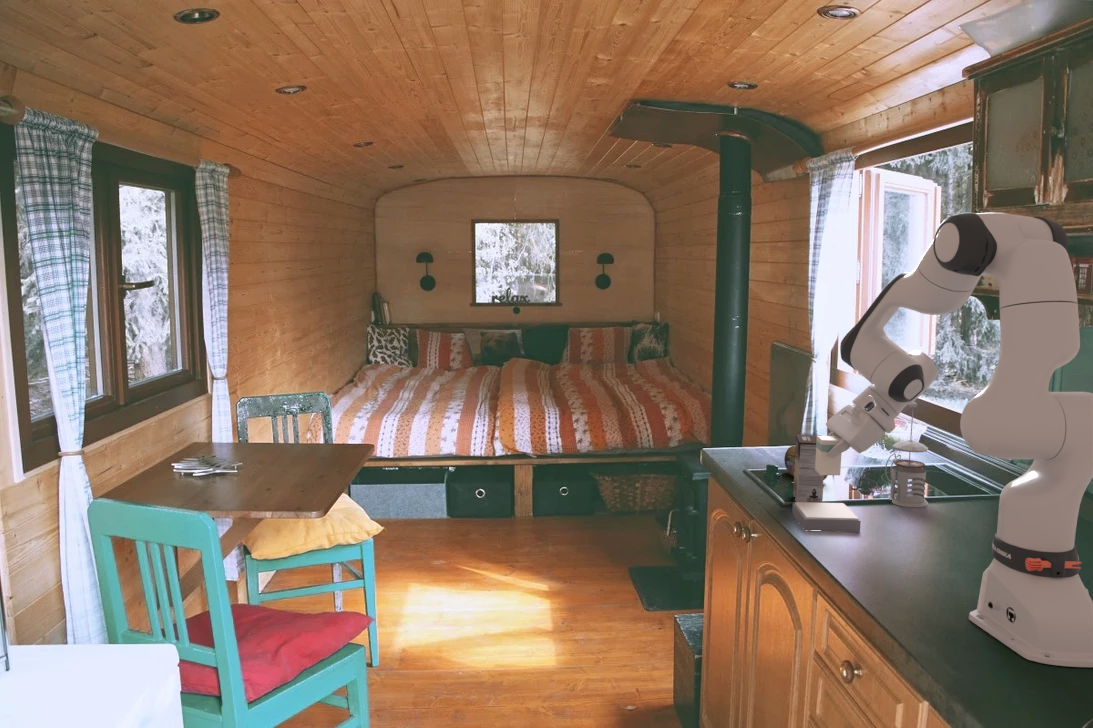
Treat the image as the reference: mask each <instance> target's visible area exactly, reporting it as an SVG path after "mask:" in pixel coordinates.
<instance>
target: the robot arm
mask: <svg viewBox="0 0 1093 728" xmlns="http://www.w3.org/2000/svg"><path fill="white" fill-rule="evenodd" d="M1068 248H1069V242H1068V235H1067V232H1066V230H1065V228H1064V227H1063V226H1062V225H1061V224H1060V223H1059V222H1058V221H1055V220H1053V219H1049V218H1046V217H1042V216H1032V217H1031V216H1028V215H1027V216H1026V215H1021V214H1011V213H1007V212H981V213H976V212H975V213H974V212H970V211H969V212H961V213H956V214H953V215H950V216H948V217H946V218H945V219H944V220H943V221H942V222H941V223H940V224H939V227H937V229H936V231H935V234H934V237H933V240H932V241H931V242H930V244H929V246H928V247H927V249H926V250H925V252H924V253H923V255H922V256H921V258H920V260H919V262H918V264H917V266H916V267H915V268H914V269H913V270H912V271H911V272H910V271H905V272H901V273H900V274H898V275H896V276H895V277H894V278H892V279H891V280H890V281H889V282H888V284H886V286H885V287H884V288H883V289H882V290H881V292H879V294H878V295H877V297H876V298H875V299H874V301H873V302H872V304H870V306H869V307H868V308H867V309H866V311H865V313H864V314H863V315H862V317H861V318H860V319H859V320H858V321H857V323H856V324H855V325H854V326H853V327H852V328H851V329H850V330H849V331H848V332H847V333H846V335H845V336H844V337H843V338H842V340H841V342H840V345H839V348H840V349H839V350H840V358H841V360H842V362H844V363H845V364H847V366H850V367H851V368H852V369H854V370H855V371H857V372H858V373H859V374H860V375H861V376H862V377H863V378H865V380H867V381H868V382H869V383H871V384H870V385H869V386H867V387H866V388H865V389H864V390H863V391H862V392H861V393H860V394H858V395H857V396H856V397H855V398H854V399H853V400H852V404H848V405H845V406H844V407H842V408H841V409H839V411H837V412H836V413H834V415H832V416H831V417H830V418H829V419H828V420H827V421H826V423H825V426H826V427H827V428H828V429H829V430H830V432H828V434H827V435H826V436H837V437H838V438H840V439H841V440H840V441H839V443H838V444H837V445H835V446H834V447H831V448H830V449H829V450H827V454H828V455H829V456H830V457H831V458H835V457H836V456H837V455H838V454H840V453H841V454H842V453H845V452H846V451H848V450H849V449H850V448H852V449H853V450H854V451H855V452H856V453H858V454H861V453H863V452H866V451H867V450H869V448H871V447H872V446H874V445H876V444H877V442H878V441H880V440H881V439H882V438H883V437H884V436H885V434H886V433H887V434H890V433H891V432H893V431H894V430H895V429H896V423H895V419H896V418H897V417H898V416H899V415H900V414H901V412H902V411H903V409H904V408H905V407H907V406H909V404H911V403H912V402H915V401H916V400H917V399H919V397H920V396H921V395H923V393H924V392H926V390H927V389H928V388H929V387H930V386H931V385H932V384H933V382H935V380H936V378H937V377H938V375H939V371H938V370H939V369H938V367H937V365H936V364H935V362H934V361H933V359H932V358H930V357H929V355H928V354H926V353H925V352H924V351H921V350H918V349H915V350H912V351H910V352H909V353H908V352H907V351H906V350H904V349H902V348H901V347H900V346H899V345H898V344H896V342H894V341H893V340H892V339H890V338H889V336H888V335H887V334H886V332H885V328H884V327H885V326H886V325H887V323H888V322H889V321H890V320H891V318H892V317H893V316H894V315H895V313H896V312H897V311H898V310H899V308H904V309H908V310H911V311H914V312H917V313H920V314H924V315H932V316H937V315H939V316H942V315H947V314H951V313H953V312H955V311H957V310H959V309H961V307H963V305H965V303H966V302H967V301H968V300H969V298H970V296H971V295H972V293H973V292H974V290H975V288H976V287H977V285H978V283H979V282H980V280H981V277H982V276H987V277H993V278H994V279H995V280H996V281H997V284H998V289H999V300H998V301H999V320H1000V322H999V325H1000V326H999V327H1000V333H999V335H1000V336H999V337H1000V338H999V340H1000V343H999V345H1000V346H999V356H998V361H997V364H996V367H995V370H994V372H993V374H992V375H991V378H990V380H989V381H988V383H987V384H986V385H985V386H984V388H982V390H981V391H980V392H978V393H977V394H976V395H975V396H974V397H972V398H971V399H970V400H969V401H967V403H966V405H965V406H964V408H963V409H962V412H961V416H960V420H959V421H960V423H959V427H960V432H961V436H962V437H963V441H964V442H965V444H966V445H967V446H968V447H969V448H970V450H972V451H973V453H975V454H979V455H982V456H986V457H992V458H997V459H1003V460H1033V461H1032V464H1031V465H1030V467H1029V468H1027V470H1026V472H1024V473H1023V474H1022V475H1020V476H1019V477H1017V478H1015V479H1013V480H1011V481H1010V482H1008V483H1007V484H1005V486H1004V487H1003V489H1002V490H1001V492H1000V495H999V501H998V503H999V504H998V515H997V527H996V528H997V529H996V532H995V533H994V534H993V540H992V543H991V547H992V550H991V551H992V552H991V556H992V557H993V559H992V561H991V563H990V564H989V566H988V567H987V568H985V569H984V571H983V573H982V578H981V581H980V582H981V583H980V588H979V595H978V600H977V607H976V609H974V610H971V611H970V612H969V615H968V620H969V621H971V623H973V624H975V625H976V626H978V628H979V627H980V629H982V630H983V631H984V632H986V633H988V634H989V635H990V636H991V637H993V638H995V639H997V640H998V641H999V642H1001V643H1002V644H1003V645H1005V646H1007V647H1008V648H1010V649H1011V650H1012V651H1014V652H1016V653H1017V654H1018V655H1019V656H1021V657H1023V658H1024V659H1026V660H1028V661H1031V662H1036V663H1039V664H1045V665H1052V666H1061V667H1073V668H1093V600H1092V598H1091V596H1090V594H1089V593H1090V592H1089V589H1088V588H1086V587H1085V585H1084V582H1083V581H1082V579H1081V577H1080V575H1079V573H1080V572H1081V569H1082V567H1080V565H1081V564H1082V561H1080V558H1079V557H1080V556H1079V554H1078V548H1077V546H1076V545H1075V542H1076V532H1077V524H1078V523H1077V522H1078V519H1079V511H1080V505H1081V503H1082V499H1083V497H1084V494H1085V491H1086V490H1087V488H1088V486H1089V484H1090V483H1091V481H1092V479H1093V392H1088V391H1050V390H1049V385H1050V382H1051V379H1052V376H1053V374H1054V372H1055V371H1056V369H1059V368H1061V367H1063V366H1065V365H1067V364H1068V363H1070V362H1071V361H1073V360H1074V358H1075V357H1076V356H1077V354H1078V353H1079V351H1080V348H1081V336H1080V320H1079V319H1080V318H1079V303H1078V293H1077V286H1076V285H1077V284H1076V279H1075V275H1074V269H1073V266H1072V263H1071V259H1070V256H1069V253H1068Z"/></svg>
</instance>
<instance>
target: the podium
mask: <svg viewBox="0 0 1093 728" xmlns="http://www.w3.org/2000/svg"><path fill="white" fill-rule="evenodd" d="M791 515H792V516H793V517H794V519H795V520H796V521H797V522H798V524H799V523H800V524H799V525H800V527H801V528H802V527H803V528H804V529H803V528H802V529H803V531H804V530H821V531H820V532H833V531H840V533H861V524H862V523H861V521H862V520H860V518H859V517H858V516H857V515H856V514H855V513H854V512H853V511H852V510H851V509H850V508H849V507H848V506H847V505H846V503H844V502H822V503H815V502H795V501H794V502H793V503H792V511H791ZM842 531H843V532H842Z"/></svg>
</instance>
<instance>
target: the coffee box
mask: <svg viewBox="0 0 1093 728" xmlns="http://www.w3.org/2000/svg"><path fill="white" fill-rule="evenodd" d="M817 436H823V435H820V434H818V435H817V434H795V446H796V448H795V471H794V476H793V498H794V497H795V499H794V502H795V501H796V502H815V503H823V498H824V497H823V496H824V481H825V480H824V475H820V474H819V473H818V472H817V471H816V470H815V462H816V440H817Z"/></svg>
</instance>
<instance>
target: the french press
mask: <svg viewBox="0 0 1093 728" xmlns="http://www.w3.org/2000/svg"><path fill="white" fill-rule="evenodd" d="M908 407H909V408H912V410H911V423H910V424H911V425H910V426H911V427H910V439H909V440H907V439H906V440H901V441H898V442H896V443H894V444H892V447H893V449H894V450H895V451H900V452H905V453H909V455H908V459H905V458H904V459H901V458H902V455H901V454H898V455H897V456H896V453H892V454H890V455H889V457H888V458H887V461H886V463H885V468H884V473H885V477H886V479H887V480H888V481H889V482H890V494H889V495H888V496H887V497H888V498H889V499H890V500H892V503H893V505H897V506H900V507H907V508H923V507H927V506H928V505H929V502H928V501H927V500H926V499H925V495H926V492H925V491H926V487H925V486H926V480H927V470H926V469H925V468H924V467H925V466H926V464H925V463H924V462H922V461H918V460H914V459H913V460H912V459H911V453H924V452H925V453H926V452H927V451H928V450H929V447H928V446H926V445H925V444H924V443H921V442H919V441H917V440H913V439H912V434H913V421H914V420H913V418H914V408H917V407H918V403H917V402H915V401H914V402H912V403H911V404H909V405H908ZM893 455H894V459H893V460H892V462H891V465H890V474H889V475H890V478H891V479H889V476H888V474H887V471H888V470H887V468H888V467H887V466H888V463H889V460H890V459H891V457H892V456H893ZM898 457H899V458H898ZM897 471H898V472H897ZM909 480H910V481H909ZM909 485H910V486H909ZM896 486H897V487H896ZM908 490H909V491H908ZM892 503H891V504H892Z"/></svg>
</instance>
